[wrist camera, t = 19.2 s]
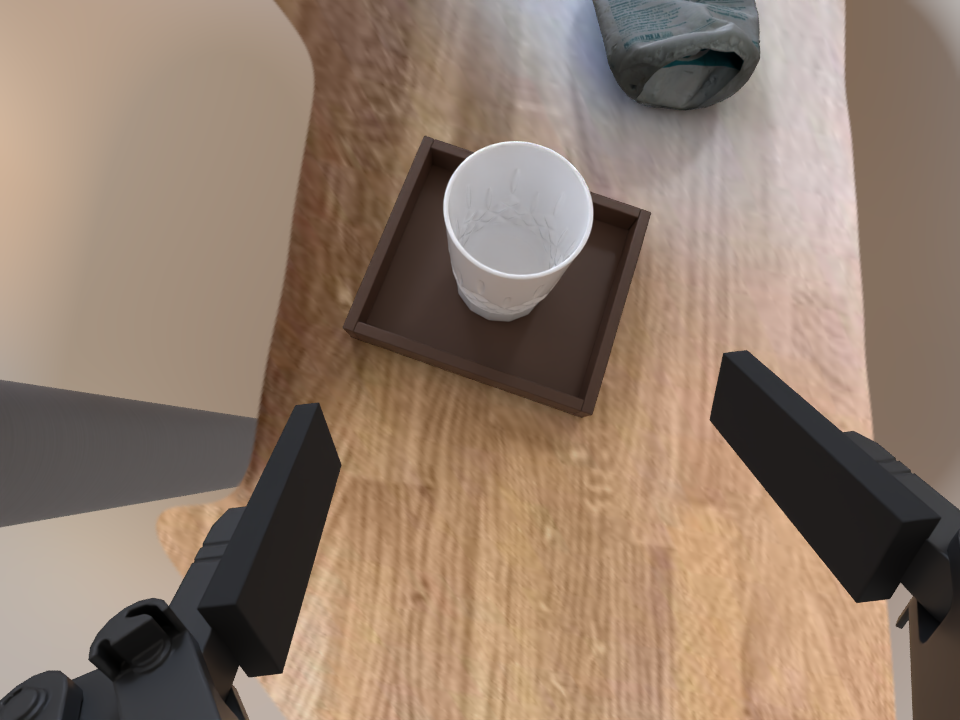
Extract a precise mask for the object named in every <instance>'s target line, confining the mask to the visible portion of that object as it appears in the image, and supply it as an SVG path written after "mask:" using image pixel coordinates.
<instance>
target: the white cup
mask: <svg viewBox="0 0 960 720" xmlns="http://www.w3.org/2000/svg"><path fill="white" fill-rule="evenodd" d="M443 211H444V220H445V226H446V233H447V240H448V248H449V255H450V259H451V265H452V269H453V274H454V276H455V279H456V282H457V288H458V294H459V295H460V297H461V298H462V299H463V301H464V302H465V303H466V305H467V306H468V308H469V309H470V310H471V311H473V312H474V313H476V314H478V315H480V316H482V317H484V318H485V319H487V320H492V321H506V322H510V321H513V320H515V319H518V318H520V317H523V316H526V315H528V314H529V313H530V312H531V311H532V310H533V309H534V308H535V307H536V306H537V305H538V304H539V302H540V301H541V300H543V299H544V298H545V297H546V296H547V295H548V293H549V292H550V291H551V290H552V289H553V287H554V286H555V285H556V284H557V282H558V281H559V280H560V278H561V277H562V276H563V274H564V273H565V271H566V270H567V269H568V267H569V266H570V265H571V263H572V262H573V261H574V259H575V258H576V257H577V255H578V254H579V253H580V252H581V250H582V249H583V247H584V246H585V244H586V242H587V240H588V238H589V235H590V232H591V228H592V224H593V203H592V198H591V194H590V191H589V189H588V186H587V184H586V182H585V181H584V179H583V177H582V176H581V174H580V173H579V172H578V170H577V169H576V168H575V167H574V166H573V165H572V164H571V163H570V162H569V161H568V160H567V159H565V158H564V157H563V156H561V155H560V154H558V153H556V152H555V151H553V150H551V149H549V148H546V147H544V146H541V145H538V144H534V143H529V142H520V141H510V142H501V143H496V144H493V145H490V146H487V147H484V148H482V149H480V150H478V151H476V152H475V153H473V154H472V155H470V156H469V157H468V158H466V159H465V160H464V161H463V162H462V163H461V164H460V165H459V166H458V168H457V169H456V170H455V172H454V173H453V175H452V176H451V178H450V180H449V183H448V185H447V188H446V191H445V196H444V203H443Z"/></svg>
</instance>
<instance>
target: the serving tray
mask: <svg viewBox="0 0 960 720" xmlns="http://www.w3.org/2000/svg"><path fill="white" fill-rule="evenodd" d="M473 153H474V152H471V151H468V150H465V149H462V148H460V147H457V146H454V145H451V144H448V143H445V142H442V141H439V140H436V139H435V140H434V139H433V138H430V137H427V136H424V138H423V140H422V142H421V145H420V147H419V149H418V152H417V154H416V156H415V159H414V161H413V163H412V166H411V168H410V170H409V173H408V175H407V177H406V180H405V182H404V184H403V187H402V189H401V192H400V194H399V196H398V199H397V201H396V203H395V206H394V208H393V210H392V213H391V215H390V217H389V220H388V222H387V224H386V227H385V229H384V231H383V234H382V236H381V238H380V241H379V243H378V246H377V248H376V250H375V253H374V255H373V257H372V260H371V262H370V264H369V267H368V269H367V271H366V274H365V276H364V278H363V281H362V283H361V285H360V288H359V290H358V292H357V295H356V297H355V300H354V302H353V304H352V307H351V309H350V311H349V314H348V316H347V318H346V321H345V323H344V325H343V329H344V330H345V331H346V332H347V333H348V334H349V335H350V336H351V337H353V338H356V339H359V340H361V341H364V342H367V343H370V344H373V345H376V346H379V347H381V348H384V349H387V350H390V351H393V352H396V353H399V354H401V355H404V356H407V357H410V358H413V359H416V360H419V361H421V362H424V363H427V364H430V365H433V366H436V367H439V368H441V369H444V370H447V371H450V372H453V373H456V374H459V375H461V376H464V377H467V378H470V379H473V380H476V381H479V382H481V383H484V384H487V385H490V386H493V387H496V388H499V389H501V390H504V391H507V392H510V393H513V394H516V395H519V396H522V397H524V398H527V399H530V400H533V401H536V402H539V403H542V404H544V405H547V406H550V407H553V408H556V409H559V410H562V411H564V412H567V413H570V414H573V415H576V416H579V417H586V416H590V415H592V414H593V411H594V407H595V404H596V401H597V397H598V394H599V390H600V387H601V383H602V380H603V377H604V373H605V370H606V366H607V363H608V359H609V356H610V353H611V349H612V346H613V342H614V339H615V335H616V332H617V329H618V325H619V322H620V318H621V315H622V311H623V308H624V305H625V301H626V298H627V294H628V291H629V287H630V284H631V281H632V277H633V274H634V270H635V267H636V263H637V260H638V257H639V253H640V250H641V246H642V243H643V239H644V236H645V233H646V229H647V226H648V222H649V219H650V215H651V212H649V211H646V210H643V209H640V208H637V207H634V206H631V205H628V204H625V203H622V202H619V201H616V200H613V199H610V198H607V197H604V196H601V195H598V194H595V193H592V192H590V194H591V198H592V203H593V224H592V228H591V232H590V235H589V238H588V240H587V242H586V244H585V246H584V247H583V249H582V250H581V252H580V253H579V254H578V255H577V257H576V258H575V259H574V261H573V262H572V263H571V265H570V266H569V267H568V269H567V270H566V271H565V273H564V274H563V276H562V277H561V278H560V280H559V281H558V282H557V284H556V285H555V286H554V287H553V289H552V290H551V291H550V292H549V293H548V295H547V296H546V297H545V298H544V299H543V300H541V301H540V302H539V304H538V305H537V306H536V307H535V308H534V309H533V310H532V311H531V312H530V313H529V314H528V315H526V316H523V317H520V318H518V319H515V320H513V321H510V322H506V321H492V320H487V319H485V318H484V317H482V316H480V315H478V314H476V313H474V312H473V311H471V310H470V309H469V308H468V306H467V305H466V303H465V302H464V301H463V299H462V298H461V297H460V295H459V294H458V288H457V282H456V279H455V276H454V274H453V269H452V265H451V259H450V255H449V248H448V240H447V233H446V226H445V220H444V211H443V203H444V196H445V191H446V188H447V185H448V183H449V180H450V178H451V176H452V175H453V173H454V172H455V170H456V169H457V168H458V166H459V165H460V164H461V163H462V162H463V161H464V160H465V159H466V158H468V157H469V156H470V155H472V154H473Z"/></svg>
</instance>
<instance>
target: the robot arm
mask: <svg viewBox="0 0 960 720" xmlns="http://www.w3.org/2000/svg"><path fill="white" fill-rule="evenodd" d="M710 421H711V422H712V424H713V425H714V426H715V427H716V429H717V430H718V431H719V432H720V434H721V435H722V436H723V437H724V439H725V440H726V441H727V442H728V443H729V445H730V446H731V447H732V448H733V450H734V451H735V452H736V453H737V455H738V456H739V457H740V458H741V460H742V461H743V462H744V463H745V465H746V466H747V467H748V468H749V470H750V471H751V472H752V473H753V475H754V476H755V477H756V478H757V480H758V481H759V482H760V483H761V485H762V486H763V487H764V488H765V490H766V491H767V492H768V493H769V495H770V496H771V497H772V498H773V500H774V501H775V502H776V503H777V505H778V506H779V507H780V508H781V510H782V511H783V512H784V513H785V515H786V516H787V517H788V518H789V519H790V521H791V522H792V523H793V524H794V526H795V527H796V528H797V529H798V531H799V532H800V533H801V534H802V536H803V537H804V538H805V539H806V541H807V542H808V543H809V544H810V546H811V547H812V548H813V549H814V551H815V552H816V553H817V554H818V556H819V557H820V558H821V559H822V561H823V562H824V563H825V564H826V566H827V567H828V568H829V569H830V571H831V572H832V573H833V574H834V576H835V577H836V578H837V579H838V581H839V582H840V583H841V584H842V586H843V587H844V588H845V589H846V591H847V592H848V593H849V594H850V595H851V597H852V598H853V599H854V600H855V602H856V603H860V602H869V601H877V600H885V599H890V598H891V597H892V595H893V593H894V592H895V590H896V589H897V587H898V585H899V584H900V582H901V583H902V584H903V585H904V587H905V588H906V589H907V590H908V591H909V592H910V593H911V594H912V595H913V597H912V599H911V600H910V602H909V603H908V605H907V606H906V607H905V609H904V610H903V612H902V613H901V615H900V616H899V618H898V620H897V623H896V627H899V628H901V629H902V628H903V627H904V625H905V624H906V622H907V621H908V620H909V631H910V632H909V633H910V658H911V680H912V681H911V683H912V709H913V720H960V510H959V509H958V508H956V507H955V506H954V505H953V504H951V503H950V502H949V501H948V500H947V499H945V498H944V497H943V496H942V495H940V494H939V493H938V492H937V491H935V490H934V489H933V488H932V487H931V486H929V485H928V484H927V483H926V482H925V481H923V480H922V479H921V478H920V477H918V476H917V475H916V474H912V473H911V470H910V469H908V468H907V467H906V466H905V465H904V464H902V463H901V462H900V461H896V458H895V457H894V456H892V455H891V454H890V453H889V452H888V451H886V450H885V449H884V448H883V447H881V446H880V445H879V444H878V443H876V442H874V441H872V440H870V439H868V438H866V437H864V436H862V435H860V434H859V433H857V432H855V431H850V432H842V431H841V430H839V429H838V428H837V427H836V426H835V425H834V424H832V423H831V422H830V421H829V420H828V419H827V418H825V417H824V416H823V415H822V414H821V413H820V412H818V411H817V410H816V409H815V408H814V407H813V406H811V405H810V404H809V403H808V402H807V401H806V400H804V399H803V398H802V397H801V396H800V395H799V394H797V393H796V392H795V391H794V390H793V389H792V388H790V387H789V386H788V385H787V384H786V383H785V382H783V381H782V380H781V379H780V378H779V377H778V376H776V375H775V374H774V373H773V372H772V371H771V370H769V369H768V368H767V367H766V366H765V365H764V364H762V363H761V362H760V361H759V360H758V359H757V358H755V357H754V356H753V355H752V354H751V353H750V352H748V351H747V350H744V351H736V352H728V353H723V357H722V362H721V367H720V372H719V377H718V381H717V386H716V391H715V396H714V401H713V406H712V411H711V416H710ZM340 468H341V462H340V459H339V457H338V454H337V451H336V448H335V446H334V443H333V440H332V437H331V434H330V432H329V429H328V426H327V423H326V421H325V418H324V415H323V412H322V410H321V407H320V404H319V403H311V404H303V405H295V407H294V409H293V411H292V413H291V415H290V417H289V420H288V422H287V424H286V426H285V428H284V430H283V432H282V434H281V436H280V438H279V440H278V442H277V444H276V446H275V448H274V450H273V452H272V455H271V457H270V459H269V461H268V463H267V465H266V467H265V469H264V471H263V473H262V475H261V477H260V479H259V481H258V483H257V485H256V487H255V490H254V492H253V494H252V496H251V498H250V500H249V502H248V504H247V506H246V507H238V508H230V509H228V510H227V511H226V512H225V513H224V514H223V515H222V516H221V517H220V518H219V519H218V520H217V521H216V522H215V524H214V525H213V526H212V528H211V529H210V531H209V533H208V535H207V537H206V539H205V540H204V542H203V547H202V548H200V550H199V551H198V553H197V555H196V557H195V559H194V560H195V562H194V563H192V564H191V566H190V568H189V570H188V572H187V574H186V575H185V577H184V579H183V581H182V583H181V585H180V587H179V589H178V590H177V592H176V594H175V596H174V598H173V600H172V601H171V603H170V605H169V606H168V605H167V604H166V603H165V601H164V600H161V599H156V598H151V599H146V600H142V601H138V602H136V603H134V604H132V605H130V606H128V607H126V608H124V609H123V610H122V611H120V612H119V613H118V614H117V615H115V616H114V617H113V618H111V619H110V620H109V621H108V622H107V623H106V625H105V626H104V627H103V628H102V629H101V630H100V631H99V632H98V634H97V636H96V637H95V639H94V641H93V643H92V645H91V647H90V652H89V659H88V660H89V661H90V662H91V663H93V664H94V665H95V666H96V667H97V668H98V669H96V670H94V671H92V672H89V673H87V674H85V675H82V676H80V677H77V678H75V679H73V680H71V679H69V678H68V677H67V676H66V675H65V674H64V673H62V672H61V671H46V672H43V673H40V674H38V675H35V676H33V677H31V678H29V679H28V680H26V681H24V682H23V683H21V684H19V685H18V686H16V687H15V688H14V689H13V690H12V691H10V692H9V693H8V694H7V695H6V696H5V697H4V698H2V699H1V700H0V720H249V718H248V715H247V713H246V711H245V708H244V706H243V704H242V701H241V699H240V696H239V694H238V692H237V689H236V688H235V687H234V686H233V685H232V684H233V681H234V678H235V675H236V672H237V669H238V667H239V665H240V667H241V668H242V669H243V671H244V672H245V673H246V674H247V676H248V677H257V676H265V675H273V674H281V673H283V669H284V666H285V662H286V659H287V655H288V652H289V648H290V645H291V641H292V638H293V634H294V631H295V627H296V623H297V620H298V616H299V613H300V609H301V606H302V602H303V599H304V595H305V592H306V588H307V585H308V581H309V578H310V574H311V571H312V567H313V564H314V560H315V557H316V553H317V549H318V546H319V542H320V539H321V535H322V532H323V528H324V525H325V521H326V518H327V514H328V511H329V507H330V504H331V500H332V497H333V493H334V490H335V486H336V483H337V479H338V476H339V472H340Z"/></svg>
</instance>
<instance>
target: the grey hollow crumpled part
mask: <svg viewBox="0 0 960 720" xmlns="http://www.w3.org/2000/svg"><path fill="white" fill-rule="evenodd" d="M593 4H594V7H595V11H596V15H597V19H598V23H599V26H600V30H601V34H602V37H603V42H604V46H605V50H606V54H607V59H608V64H609V66H610V69H611V71H612V73H613V76H614V77H615V79H616V81H617V83H618V84H619V86H620V87H621V88H622V90H623V91H624V92H625V93H626V94H627V95H628V96H629V97H630V98H631V99H632V100H634V101H636V102H638V103H640V104H644V105H647V106H652V107H662V108H670V109H678V110H689V109H696V108H703V107H708V106H710V105H713V104H715V103H718V102H721V101H723V100H725V99H727V98H729V97H731V96H732V95H733V94H735V93H736V92H737V91H738V90H739V89H740V88H741V87H742V86H743V85H744V84H745V83H746V82H747V81H748V80H749V78H750V77H751V75H752V73H753V72H754V70H755V68H756V66H757V64H758V62H759V59H760V46H759V43H760V41H759V17H758V11H757V8H756V3H755V0H593Z"/></svg>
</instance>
